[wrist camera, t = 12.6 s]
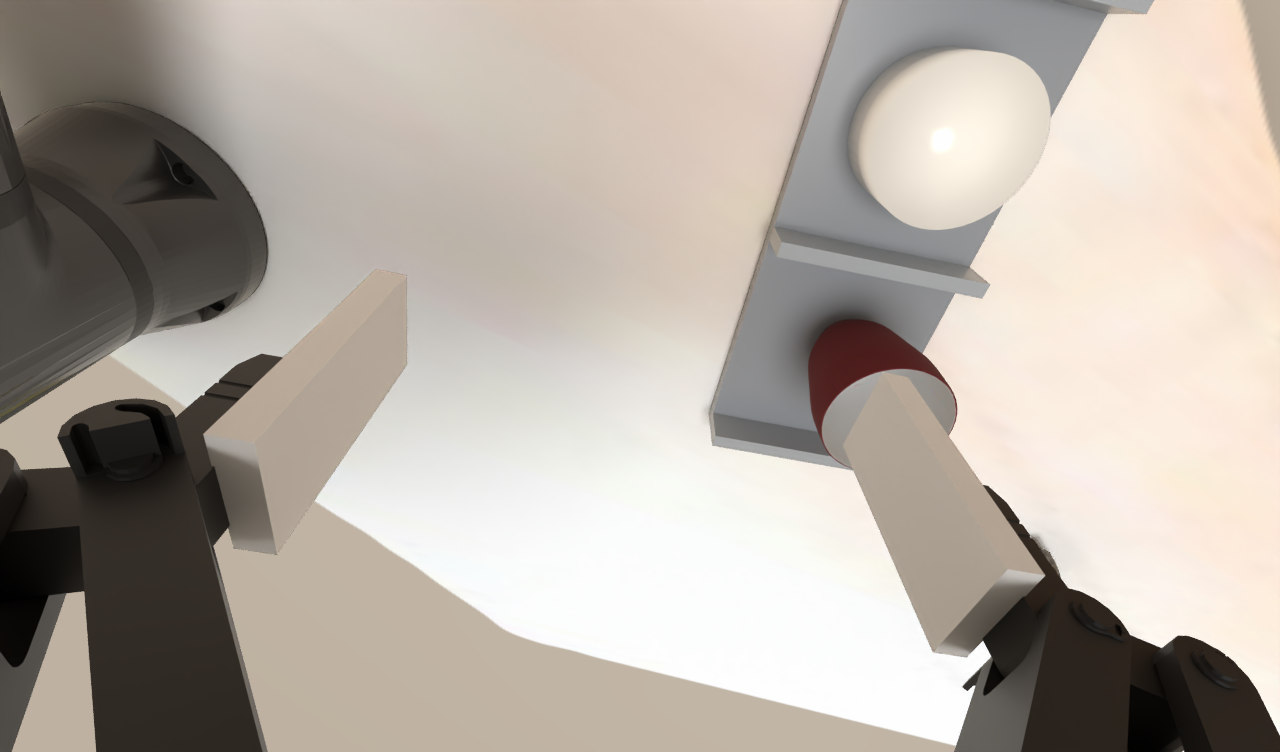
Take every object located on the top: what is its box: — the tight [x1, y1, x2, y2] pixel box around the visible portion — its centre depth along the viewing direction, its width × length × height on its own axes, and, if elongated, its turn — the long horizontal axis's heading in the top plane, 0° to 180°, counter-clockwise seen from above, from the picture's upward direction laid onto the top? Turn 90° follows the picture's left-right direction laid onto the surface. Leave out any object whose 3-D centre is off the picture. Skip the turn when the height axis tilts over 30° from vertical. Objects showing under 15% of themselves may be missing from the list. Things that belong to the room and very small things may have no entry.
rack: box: [709, 0, 1154, 470], centre depth 38 cm, size 14×33×4 cm, turn 169°
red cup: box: [808, 319, 957, 469], centre depth 39 cm, size 11×8×10 cm
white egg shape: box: [848, 46, 1051, 230], centre depth 32 cm, size 9×9×5 cm
